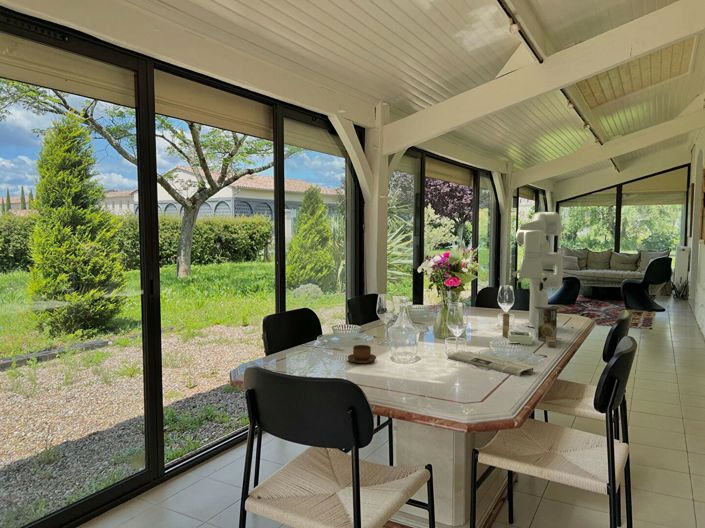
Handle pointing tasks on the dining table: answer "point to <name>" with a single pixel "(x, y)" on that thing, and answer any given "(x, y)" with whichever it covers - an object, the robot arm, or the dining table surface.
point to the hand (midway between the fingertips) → (530, 290)
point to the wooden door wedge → (550, 341)
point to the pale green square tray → (520, 337)
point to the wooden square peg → (505, 324)
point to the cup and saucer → (361, 354)
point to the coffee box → (545, 322)
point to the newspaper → (492, 362)
